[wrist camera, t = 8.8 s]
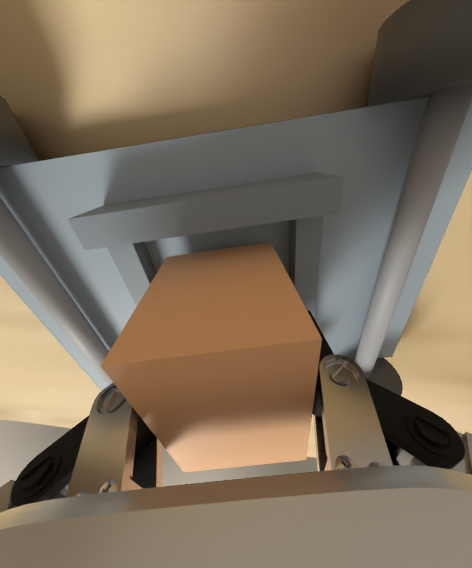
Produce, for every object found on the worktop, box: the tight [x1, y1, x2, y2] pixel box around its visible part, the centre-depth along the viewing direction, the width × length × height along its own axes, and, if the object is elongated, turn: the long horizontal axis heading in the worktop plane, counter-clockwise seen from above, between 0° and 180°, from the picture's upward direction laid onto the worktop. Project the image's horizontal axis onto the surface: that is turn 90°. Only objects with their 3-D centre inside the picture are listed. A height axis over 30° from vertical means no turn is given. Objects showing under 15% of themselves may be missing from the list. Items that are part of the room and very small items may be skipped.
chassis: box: [0, 0, 472, 396], centre depth 11 cm, size 24×20×5 cm
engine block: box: [101, 242, 322, 472], centre depth 9 cm, size 5×7×6 cm
